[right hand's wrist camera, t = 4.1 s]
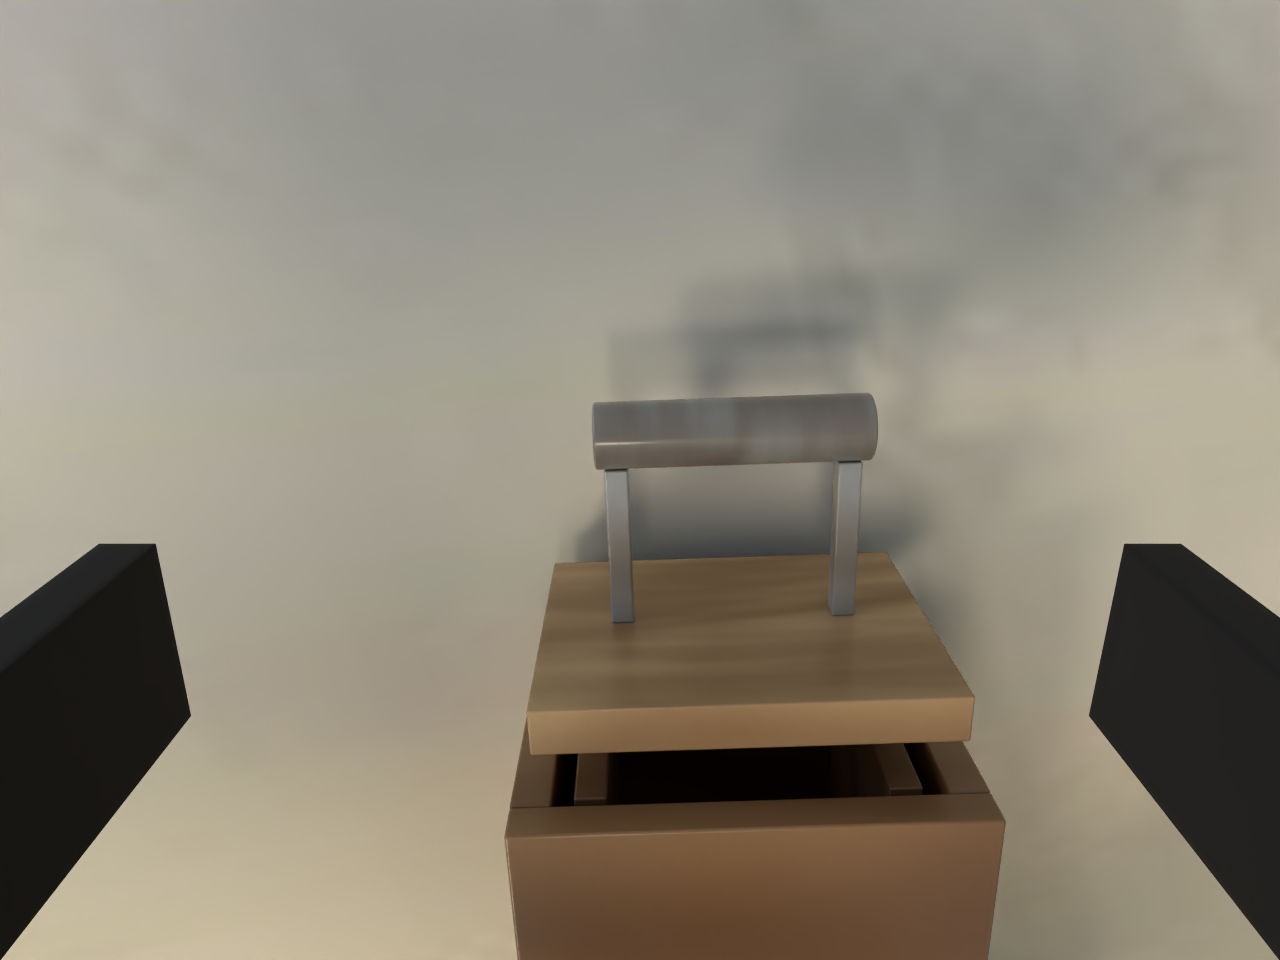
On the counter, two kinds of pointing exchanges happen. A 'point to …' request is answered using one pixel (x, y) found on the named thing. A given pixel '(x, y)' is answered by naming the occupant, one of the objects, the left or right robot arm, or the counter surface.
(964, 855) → the cabinet
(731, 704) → the drawer
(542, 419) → the counter surface
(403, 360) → the counter surface
